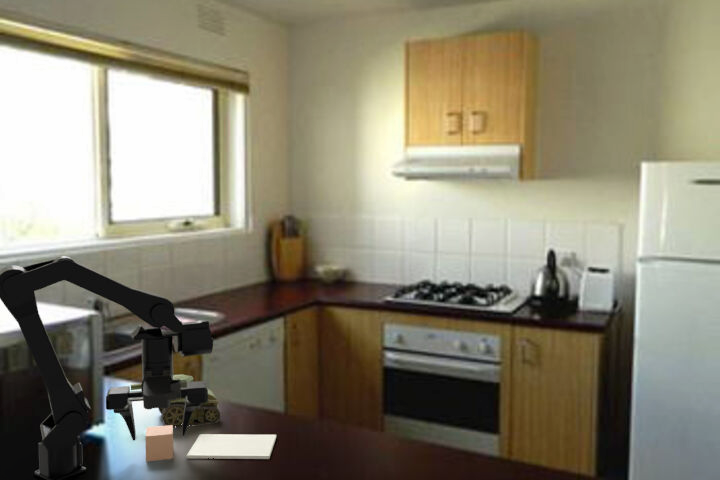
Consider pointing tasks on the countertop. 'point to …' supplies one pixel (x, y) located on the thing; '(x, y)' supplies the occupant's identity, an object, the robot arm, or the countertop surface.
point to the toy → (176, 409)
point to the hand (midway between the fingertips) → (159, 437)
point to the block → (159, 442)
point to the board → (232, 446)
